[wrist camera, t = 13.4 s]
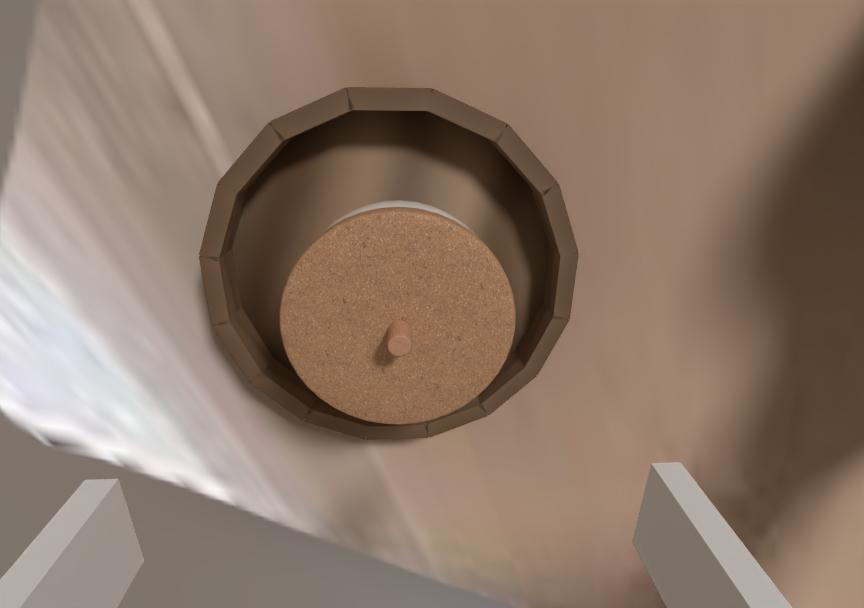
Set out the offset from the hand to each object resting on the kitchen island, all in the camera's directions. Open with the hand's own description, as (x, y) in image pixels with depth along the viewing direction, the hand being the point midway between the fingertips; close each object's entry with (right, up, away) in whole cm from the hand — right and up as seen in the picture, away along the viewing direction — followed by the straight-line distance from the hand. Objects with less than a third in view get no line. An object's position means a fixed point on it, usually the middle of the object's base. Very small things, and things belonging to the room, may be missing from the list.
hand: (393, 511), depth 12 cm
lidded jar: (-1, +7, +17) cm, 18 cm away
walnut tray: (-1, +7, +17) cm, 19 cm away
